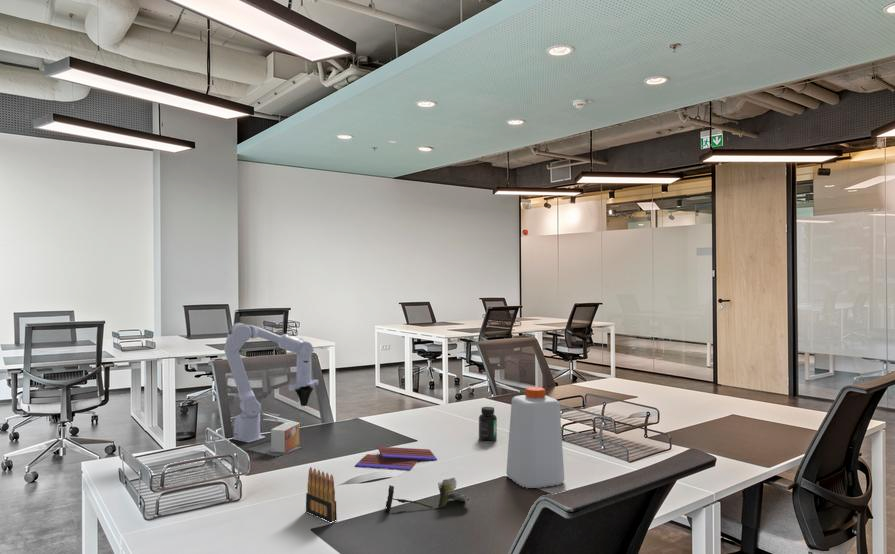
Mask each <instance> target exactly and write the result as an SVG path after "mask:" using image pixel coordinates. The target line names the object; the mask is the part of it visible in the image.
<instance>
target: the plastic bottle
mask: <svg viewBox="0 0 895 554" xmlns="http://www.w3.org/2000/svg"><path fill="white" fill-rule="evenodd" d="M509 418H510V419H509V420H510V421H509V433H508V445H507V446H508V447H507V458H506V459H507V460H506V461H507V462H506V476H507V478H509V479H510V480H511V479H512V480H511V481H513V482H514V483H515V482H516V483H515V484H517V485H518V484H519V485H518V486H519V487H521V486H522V488H524V487H526V488H525V489H528V488H537V489H541V488H540V487H544V488H547V487H546V486H551V487H553V486H552V485H557V486H559V485H558V484H560V485H562V484H563V483H564V481H565V466H564V452H563V451H564V450H563V435H562V423H561V405H560V402H559V401H558V400H557V399H556V398H553V397H551V396H548V395H546V389H545V388H543V387H540V386H539V387H538V386H529V387H528V386H527V387H526V388H525V394H523V395H521V394H520V395H515V396H513V397H512V398H511V404H510V417H509ZM561 483H562V484H561Z"/></svg>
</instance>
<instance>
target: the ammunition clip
mask: <svg viewBox="0 0 895 554" xmlns="http://www.w3.org/2000/svg"><path fill="white" fill-rule="evenodd" d="M307 479H308V480H307V492H306V494H305V513H306V512H309V513H311V514H313V515H315V516H318V517H320V518H323V519H325V520H327V521H329V522H332V521H335V520H338V519H337V518H338V517H337V515H338V514H337V501H336V491H335V479H334V476H333V474H330V475H329V473H328V472H326V474H325V471H323V470H322V472H321V470H320V469H318V470H317V469H316V468H313V467H312V466H310V467H309V469H308V477H307ZM311 514H310V515H311ZM313 515H312V516H313ZM315 516H314V517H315Z"/></svg>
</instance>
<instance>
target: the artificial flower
mask: <svg viewBox="0 0 895 554" xmlns="http://www.w3.org/2000/svg"><path fill="white" fill-rule="evenodd" d="M457 485H458V482H457V480H456V477H451V478H448V479H447V478H446V479H443V480H442V481H441V482H437V487H438V491H439V500H438V501H439V503H438V504H437V505H438V506H437V507H441V508H442V507H445V506H446V505H447V503H448V501H450V500H453V501H455V500H461V501H460V502H463V501H466V502H469V501H470V498H469V497H468V496H467V495H465V494H463V495H462V494H461V493H460V492H454V491H455V490H456V488H457ZM394 489H395V487H394V485H390V484H389V486H388V490H387V491H388V496H387V498H386V502H385V508H386V507H387V508H386V509H385V510H384V511H385V512H390V511H391V508H392V504H393V500H394V501H398V502H399V503H401V504H405V503H411V504H415V505H421V506H423V507H425V508H430V509H432V508H433V507H434V506H432V505H429V504H425V503H423V502H419V501H417V500H409V499H403V498H402V499H401V498H393V497H394V492H395V491H394ZM451 492H453V493H451ZM449 493H450V494H449ZM449 499H450V500H449Z"/></svg>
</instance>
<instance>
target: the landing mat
mask: <svg viewBox="0 0 895 554" xmlns="http://www.w3.org/2000/svg"><path fill="white" fill-rule="evenodd" d="M300 449H303V447H302V446H299V445H298V446H296V447H294V448H292V449H290V450H289V451H287V452H285V453H282V452H271V441H269V442H265V443H262V444H259V445H255V446H253V447H249V448H246V451H248V450H249V451H248V452H252V451H253V452H254V453H257V454H262V455H265V454H267V455H266V456H269V455H271V456H270V457H274V456H275V457H274V458H278V457H280V455H281V456H283V454H284V455H286V453H287V454H290V453H292V452H295V451H297V450H300ZM277 456H278V457H277Z"/></svg>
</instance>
